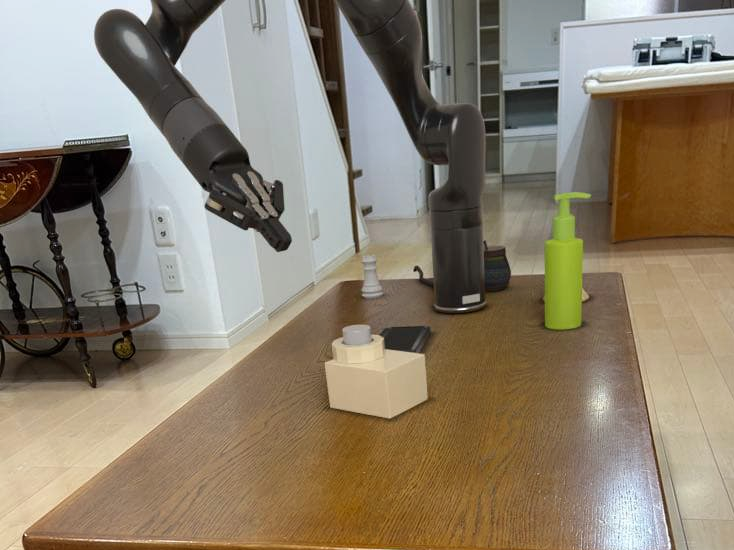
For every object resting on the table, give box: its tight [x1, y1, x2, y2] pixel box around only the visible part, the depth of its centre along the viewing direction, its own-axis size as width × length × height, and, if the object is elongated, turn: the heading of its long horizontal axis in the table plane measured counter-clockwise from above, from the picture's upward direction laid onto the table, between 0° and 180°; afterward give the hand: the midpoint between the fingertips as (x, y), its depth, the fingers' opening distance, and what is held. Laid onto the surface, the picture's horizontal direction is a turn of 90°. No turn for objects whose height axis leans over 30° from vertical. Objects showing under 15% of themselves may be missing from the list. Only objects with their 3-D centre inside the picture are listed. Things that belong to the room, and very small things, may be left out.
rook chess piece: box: [360, 253, 384, 300], centre depth 165 cm, size 4×4×8 cm
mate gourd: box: [483, 239, 512, 293], centre depth 161 cm, size 7×8×10 cm
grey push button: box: [341, 324, 372, 346], centre depth 104 cm, size 4×4×2 cm
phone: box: [378, 325, 431, 354], centre depth 131 cm, size 8×1×15 cm
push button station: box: [324, 333, 429, 419], centre depth 105 cm, size 11×8×8 cm
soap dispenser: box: [544, 191, 592, 331], centre depth 130 cm, size 6×7×20 cm
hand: (285, 246), depth 106 cm, fingers closed
